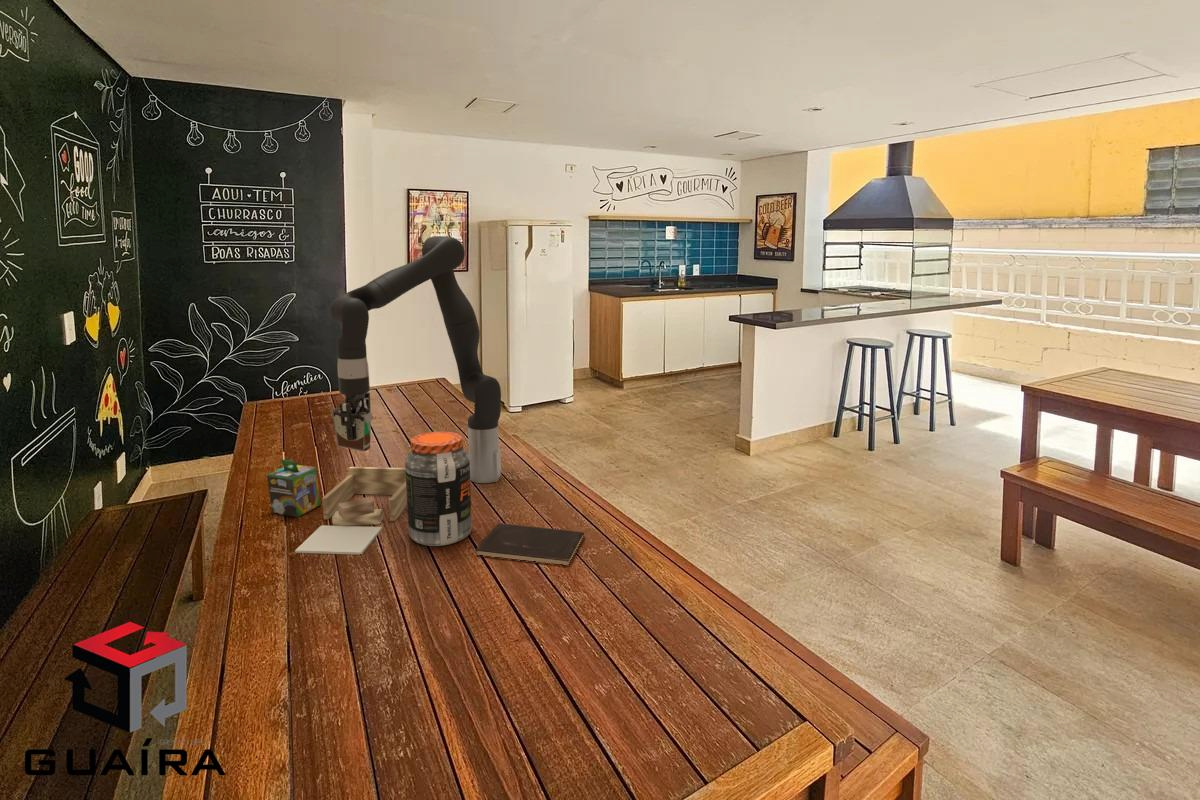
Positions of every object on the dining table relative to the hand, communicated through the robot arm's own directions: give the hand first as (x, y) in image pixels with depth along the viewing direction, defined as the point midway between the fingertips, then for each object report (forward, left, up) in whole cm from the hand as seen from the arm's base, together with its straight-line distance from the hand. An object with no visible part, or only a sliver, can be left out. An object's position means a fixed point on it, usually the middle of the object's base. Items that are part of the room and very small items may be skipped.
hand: (357, 435), depth 175 cm
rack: (-1, -5, -22) cm, 23 cm away
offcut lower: (-1, +5, -23) cm, 23 cm away
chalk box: (+19, -1, -23) cm, 30 cm away
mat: (-1, +17, -22) cm, 28 cm away
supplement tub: (-25, +12, -23) cm, 35 cm away
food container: (0, 0, -3) cm, 3 cm away
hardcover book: (-48, +17, -23) cm, 56 cm away
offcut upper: (0, +6, -20) cm, 21 cm away
